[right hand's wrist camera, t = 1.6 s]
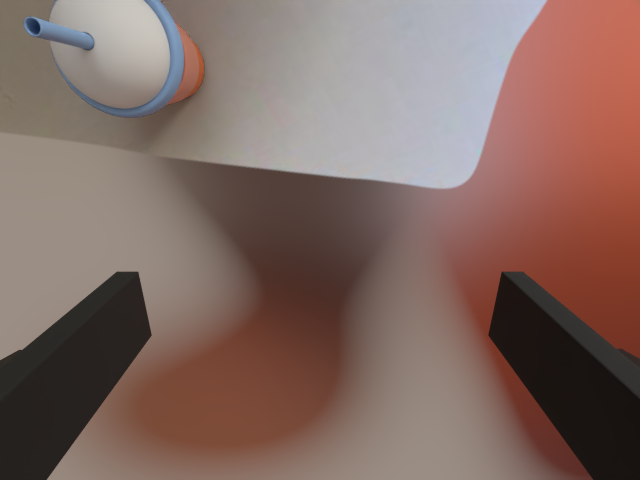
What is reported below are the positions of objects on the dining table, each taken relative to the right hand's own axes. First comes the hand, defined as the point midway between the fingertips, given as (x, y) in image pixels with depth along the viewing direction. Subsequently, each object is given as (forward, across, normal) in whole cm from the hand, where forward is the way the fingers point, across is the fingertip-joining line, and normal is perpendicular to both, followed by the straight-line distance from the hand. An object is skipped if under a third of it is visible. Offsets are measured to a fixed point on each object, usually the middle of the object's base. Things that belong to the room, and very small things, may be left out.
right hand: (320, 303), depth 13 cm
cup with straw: (+27, -14, +10) cm, 32 cm away
